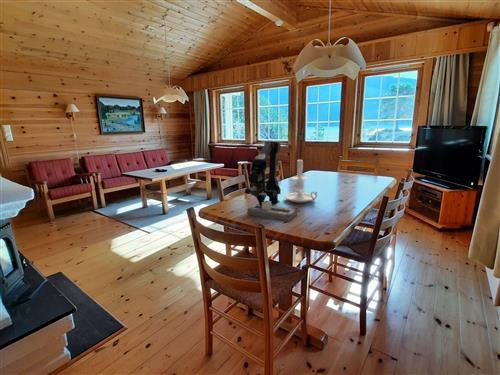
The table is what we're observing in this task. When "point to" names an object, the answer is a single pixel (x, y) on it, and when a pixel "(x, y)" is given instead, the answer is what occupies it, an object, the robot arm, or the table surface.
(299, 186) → the candlestick
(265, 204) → the fader knob
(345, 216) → the table surface
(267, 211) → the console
